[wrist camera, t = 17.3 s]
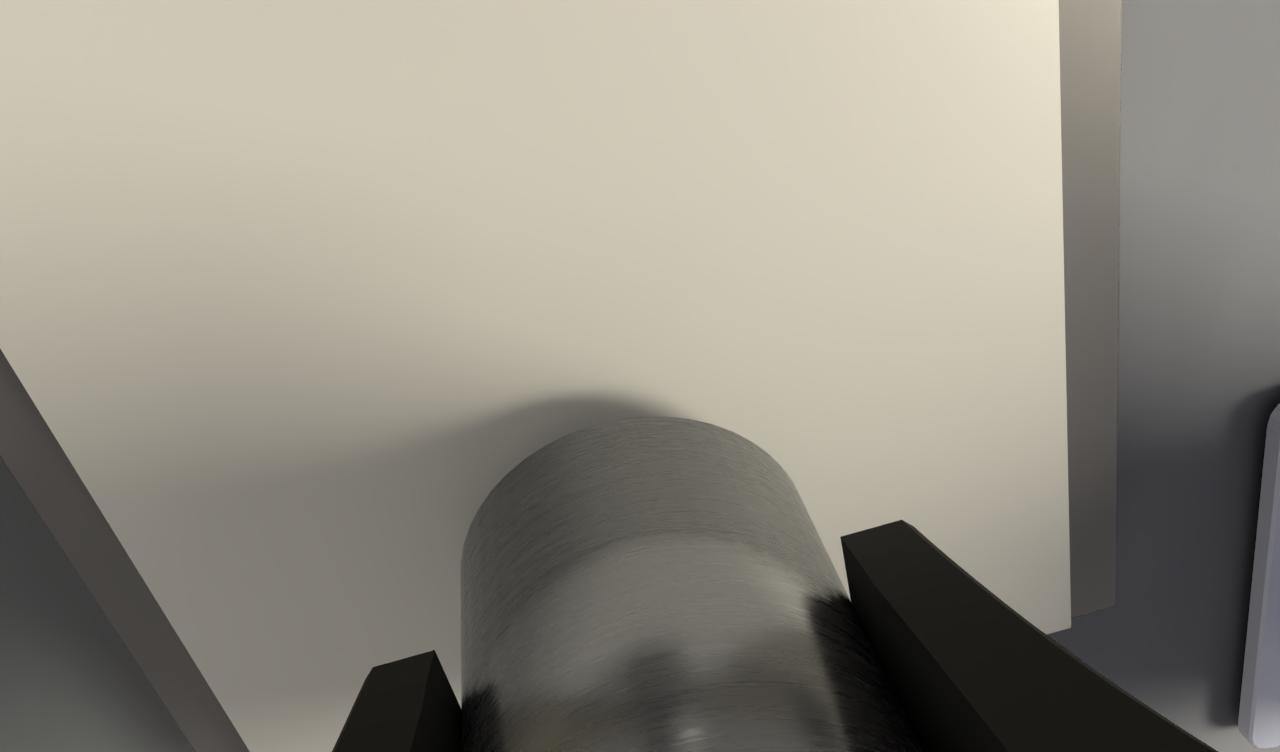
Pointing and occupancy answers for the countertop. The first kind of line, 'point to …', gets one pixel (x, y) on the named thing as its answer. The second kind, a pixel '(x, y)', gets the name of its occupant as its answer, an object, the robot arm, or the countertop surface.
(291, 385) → the kitchen scale
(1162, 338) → the countertop surface
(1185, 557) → the countertop surface
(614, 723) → the cylinder
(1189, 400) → the countertop surface
